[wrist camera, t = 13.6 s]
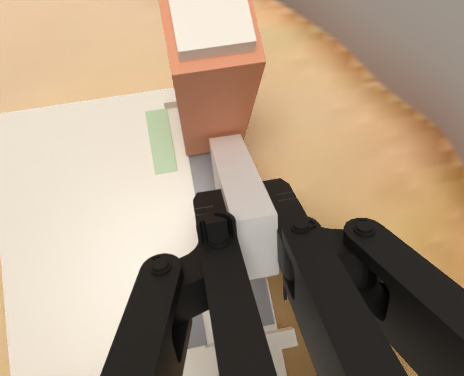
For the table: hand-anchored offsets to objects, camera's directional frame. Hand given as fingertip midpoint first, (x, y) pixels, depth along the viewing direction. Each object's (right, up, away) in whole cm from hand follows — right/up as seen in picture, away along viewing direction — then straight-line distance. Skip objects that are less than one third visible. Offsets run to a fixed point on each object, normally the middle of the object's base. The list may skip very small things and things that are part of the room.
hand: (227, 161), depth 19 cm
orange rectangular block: (-1, +2, +3) cm, 4 cm away
